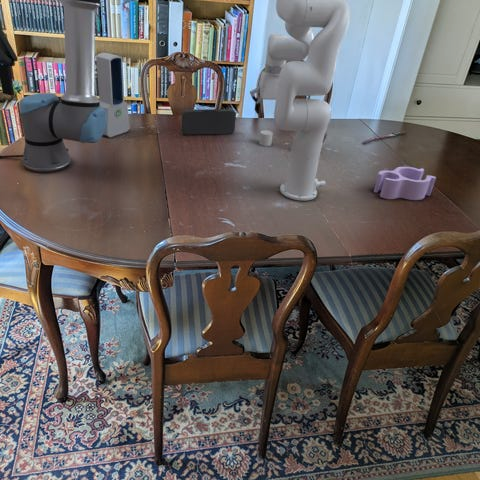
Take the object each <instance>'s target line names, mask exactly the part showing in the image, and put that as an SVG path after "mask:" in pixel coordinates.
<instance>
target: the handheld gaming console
mask: <svg viewBox="0 0 480 480" xmlns="http://www.w3.org/2000/svg"><path fill="white" fill-rule="evenodd" d="M236 119H237V112H236V111H235V109H229V108H227V109H226V108H206V109H205V108H199V109H195V108H194V109H184V110H183V111H182V112H181V130H180V131H181V132H182V133H183V135H222V134H224V135H226V134H234V132H236Z"/></svg>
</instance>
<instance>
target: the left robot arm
mask: <svg viewBox="0 0 480 480" xmlns="http://www.w3.org/2000/svg"><path fill="white" fill-rule="evenodd" d="M58 2H60V4H61V5H62V6H63V22H64V27H63V29H64V66H65V67H64V68H65V69H64V70H65V72H64V73H65V92H64V93H63V95H62V96H61V97H60V101H59V97H58V95H57V94H55V93H51V92H43V93H41V92H40V93H34V94H30V95H26V96H24V97H22V98H21V99H20V100H19V103H18V104H19V114H20V119H21V126H22V132H23V137H24V148H23V153H22V154H12V155H11V154H10V155H0V159H7V158H21V159H22V160H21V161H22V166H23V168H24V169H25V170H27V171H29V172H33V173H39V174H46V173H56V172H61V171H63V170H66V169H67V168H69V167H70V166H71V163H72V159H71V155H70V153H69V148H68V147H66V145H65V143H64V140H67V141H71V142H72V141H73V142H79V143H82V144H96V143H98V142H99V141H100V140H101V139H102V137H103V136H104V135H103V134H104V131H105V128H106V123H107V114H106V111H105V109H103V108H102V107H100V100H99V97H98V96H97V95H96V10H97V9H99V7H101V0H58ZM2 27H3V26H2V24H1V22H0V86H1V91H2V94H3V95H7V96H11V97H13V96H15V90H14V84H13V83H14V82H13V79H14V74H13V69H12V67H15V65H16V62H18V60H19V59H18V55H17V54H16V52H15V50H14V49H13V47H12V45H11V44H10V41H9V40H8V38H7V36H6V35H5V32H4V31H3V28H2Z"/></svg>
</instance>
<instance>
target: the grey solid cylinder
mask: <svg viewBox="0 0 480 480" xmlns="http://www.w3.org/2000/svg"><path fill="white" fill-rule="evenodd" d="M273 136H274V135H273V131H271V130H268V129H267V130H266V129H265V130H264V129H263V130H261V131H260V132H259V141H258V145H260V146H264V147H269V146H272V143H273V142H272V141H273Z"/></svg>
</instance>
